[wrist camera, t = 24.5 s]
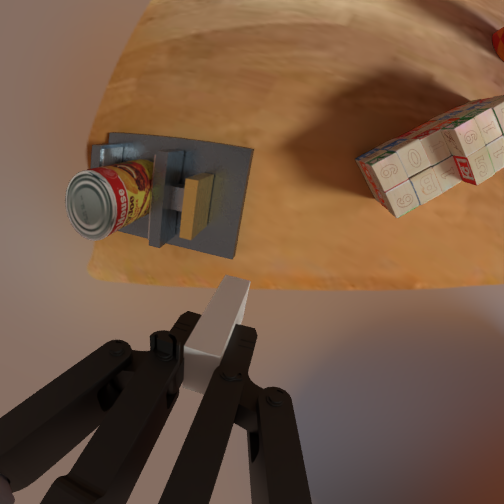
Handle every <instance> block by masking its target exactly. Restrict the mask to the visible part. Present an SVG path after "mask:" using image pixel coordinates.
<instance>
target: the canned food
mask: <svg viewBox="0 0 504 504" xmlns="http://www.w3.org/2000/svg"><path fill="white" fill-rule="evenodd" d="M153 164H154V163H153V162H152V161H149V160H145V159H139V160H133V161H128V162H122V163H117V164H112V165H107V166H102V167H97V168H93V169H88V170H84V171H81V172H79V173H77V174H76V175H75V176H74V177H73V178H72V179H71V181H70V182H69V184H68V188H67V190H66V196H65V203H66V211H67V215H68V218H69V220H70V222H71V224H72V226H73V227H74V229H75V230H76V231H77V232H78V233H79V234H80V235H81V236H83V237H84V238H86V239H88V240H93V241H96V240H101V239H103V238H105V237H107V236H109V235H110V234H112V233H114V232H116V231H117V230H119V229H121V228H123V227H125V226H127V225H128V224H130V223H132V222H134V221H136V220H138V219H140V218H141V217H143V216H145V215H147V214H149V209H150V196H151V184H152V174H153Z"/></svg>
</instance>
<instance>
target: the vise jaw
mask: <svg viewBox="0 0 504 504" xmlns="http://www.w3.org/2000/svg"><path fill="white" fill-rule="evenodd" d="M183 157H184V150H177V149H169V150H160V151H156V154H155V156H154V164H153V174H152V184H151V196H150V209H149V225H148V240H149V245H150V246H154V247H158V248H160V247H162V246H163V245H164V244H165V243H167V242H168V241H169V240H171V239H172V238H173V237H174V236H175V226H176V216H177V211H181V212H182V216H181V226H180V236H179V237H180V238H184V239H188V240H192V239H193V238H194V237H195V236H196V235H197V234H199V233H200V232H201V231H202V230H203V229H204V228H205V227H206V226H207V220H208V213H209V206H210V199H211V192H212V185H213V178H214V175H213V174H208V173H200V174H197V175H194V176H191V177H188V178H186V181H185V185H184V184H180V179H181V171H182V164H183Z"/></svg>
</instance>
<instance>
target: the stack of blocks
mask: <svg viewBox="0 0 504 504" xmlns="http://www.w3.org/2000/svg"><path fill="white" fill-rule="evenodd" d="M355 161H356V162H357V164H358V166H359V168H360V170H361V172H362V174H363V176H364V178H365V179H366V182H367V184H368V186H369V188H370V190H371V192H372V194H373V196H374V197H375V199H376V200H377V201H378V202H379V203H381V205H382V206H384V207H385V208H386V209H388V210H389V212H390V213H391V214H392V215H394V216H395V217H396V218H399V217H401V216H402V215H404V214H406V213H408V212H409V211H411V210H413V209H415V208H416V207H418V206H419V205H423V204H424V203H426V202H428V201H430V200H431V199H433V198H435V197H436V196H438V195H440V194H441V193H443V192H446V191H447V190H449V189H451V188H452V187H454V186H455V185H457V184H459V183H460V182H461V181H462V180H463V181H464V182H467V183H470V184H473V185H479V184H480V183H482V182H483V181H485V180H486V179H488V178H489V177H491V176H493V175H494V174H495V173H496V172H497V171H499V170H501V169H502V168H504V95H501V96H495V97H492V98H487V99H482V100H481V99H478V100H473V101H470V102H468V103H466V104H463V105H461V106H458V107H455V108H453V109H451V110H449V111H447V112H445V113H443V114H440V115H438V116H436V117H434V118H432V119H430V120H428V122H426V123H424V124H422V125H420V126H418V127H416V128H414V129H412V130H411V131H409V132H407V133H405V134H403V135H401V136H399V137H397V138H395V139H391V140H389V141H387V142H385V143H383V144H381V145H379V146H377V147H375V148H374V149H372V150H370V151H369V152H367V153H365V154H363V155H361V156H359V157H357V158H356V159H355Z"/></svg>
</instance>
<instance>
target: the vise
mask: <svg viewBox="0 0 504 504" xmlns="http://www.w3.org/2000/svg"><path fill="white" fill-rule="evenodd" d="M169 149H177V150H184V157H183V164H182V171H181V179H180V184H184V185H185V181H186V178H188V177H191V176H194V175H197V174H200V173H208V174H213V175H214V178H213V185H212V192H211V199H210V206H209V213H208V220H207V226H206V227H205V228H204V229H203V230H202V231H201V232H200V233H199V234H197V235H196V236H195V237H194V238H193V239H192V240H188V239H184V238H180V237H179V236H180V226H181V216H182V212H181V211H177V216H176V226H175V236H174V237H173V238H172V239H171V240H169V241H168V242H167V243H168V244H172V245H176V246H179V247H184V248H188V249H192V250H196V251H200V252H204V253H208V254H212V255H216V256H220V257H224V258H228V259H232V260H233V258H234V256H235V252H236V247H237V241H238V235H239V229H240V224H241V218H242V212H243V207H244V201H245V195H246V190H247V184H248V179H249V173H250V168H251V163H252V157H253V152H254V149H251V148H246V147H240V146H234V145H228V144H222V143H215V142H208V141H201V140H193V139H185V138H177V137H167V136H157V135H146V134H132V133H116V132H115V133H110V134H109V143H107V144H97V145H92V155H91V169H93V168H97V167H102V166H107V165H112V164H117V163H122V162H128V161H133V160H139V159H145V160H149V161H152V162H153V163H154V156H155V154H156V151H160V150H169ZM148 225H149V214H147V215H145V216H143V217H141V218H140V219H138V220H136V221H134V222H132V223H130V224H128V225H127V226H125V227H123V228H121V229H119V230H117V231H120V232H124V233H128V234H132V235H136V236H140V237H144V238H148Z"/></svg>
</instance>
